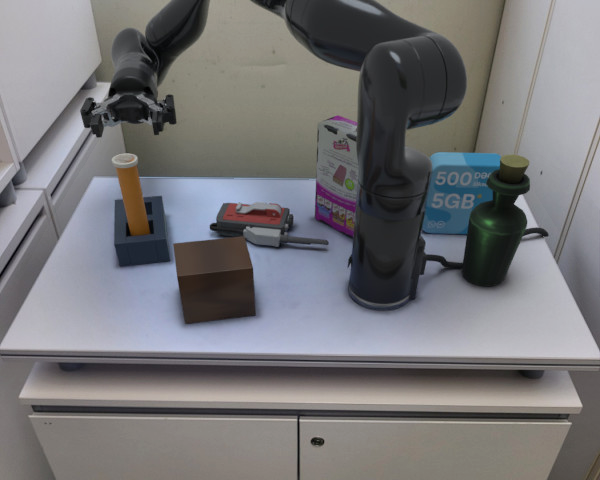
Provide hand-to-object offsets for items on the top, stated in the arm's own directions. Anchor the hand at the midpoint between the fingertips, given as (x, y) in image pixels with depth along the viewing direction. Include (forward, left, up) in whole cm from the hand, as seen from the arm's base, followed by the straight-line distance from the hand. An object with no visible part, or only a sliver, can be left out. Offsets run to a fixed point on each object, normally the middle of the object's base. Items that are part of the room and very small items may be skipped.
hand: (126, 129), depth 88 cm
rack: (+1, +4, -16) cm, 17 cm away
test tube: (+1, +7, -16) cm, 18 cm away
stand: (-9, +23, -16) cm, 30 cm away
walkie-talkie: (-20, +6, -16) cm, 27 cm away
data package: (-51, +10, -16) cm, 55 cm away
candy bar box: (-33, +6, -16) cm, 38 cm away
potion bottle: (-50, +24, -16) cm, 58 cm away
